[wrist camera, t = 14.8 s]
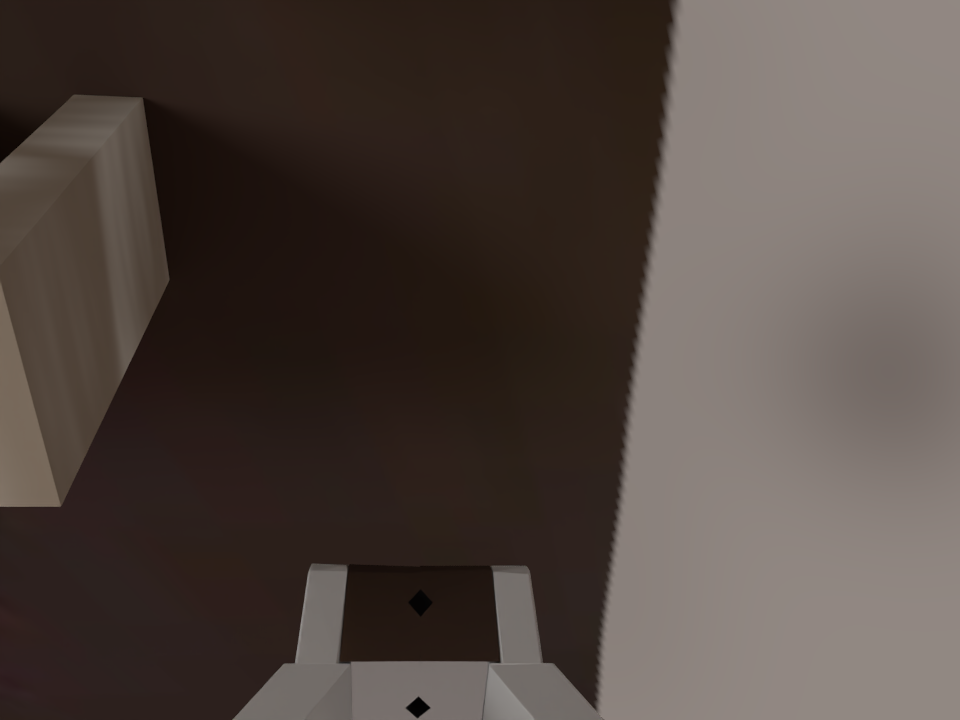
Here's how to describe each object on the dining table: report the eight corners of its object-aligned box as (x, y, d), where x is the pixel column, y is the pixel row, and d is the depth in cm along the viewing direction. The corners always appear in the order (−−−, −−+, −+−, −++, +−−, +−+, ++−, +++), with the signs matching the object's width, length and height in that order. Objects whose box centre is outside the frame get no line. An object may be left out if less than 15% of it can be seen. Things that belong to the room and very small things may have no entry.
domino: (109, 278, 24) (-29, 506, 16) (74, 94, 21) (-112, 266, 13) (169, 279, 24) (60, 506, 16) (142, 97, 21) (-3, 269, 14)
